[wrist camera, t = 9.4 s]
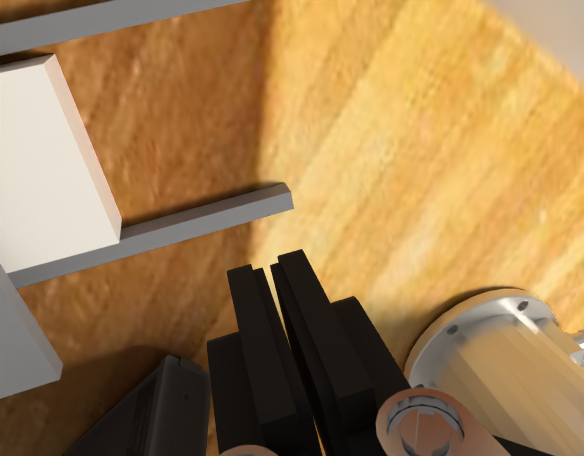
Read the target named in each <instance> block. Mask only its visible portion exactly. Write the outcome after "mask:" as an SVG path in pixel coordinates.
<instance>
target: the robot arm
mask: <svg viewBox="0 0 584 456" xmlns="http://www.w3.org/2000/svg"><path fill="white" fill-rule="evenodd" d="M278 262H279V263H276V264H272V265H270V268H271V272H272V276H273V280H274V284H275V288H276V292H277V296H278V300H279V304H280V308H281V312H282V316H283V320H284V324H285V328H286V331H287V335H288V339H289V343H290V346H289V343H288V340H287V337H286V334H285V331H284V328H283V326H282V323H281V320H280V317H279V314H278V311H277V308H276V305H275V302H274V299H273V297H272V294H271V291H270V288H269V285H268V282H267V279H266V276H265V273H264V270H263V268H259V269H255V270H253V269H252V266H251V264H249V265H245V266H242V267H238V268H235V269H231V270H228V271H227V276H228V281H229V285H230V290H231V295H232V299H233V304H234V309H235V313H236V318H237V323H238V328H239V332H235V333H232V334H229V335H226V336H223V337H219V338H216V339H213V340H210V341H207V353H208V362H209V370H210V379H211V388H212V397H213V405H214V414H215V423H216V432H217V440H218V449H219V456H322V452H321V448H320V444H319V440H318V436H317V432H316V427H317V430H318V433H319V436H320V439H321V442H322V445H323V448H324V451H325V454H326V456H584V329H582V330H579V331H578V332H576V333H573V334H570V333H567V332H564V331H562V330H561V329H560V328H559V327H558V323H557V319H556V316H555V314H554V312H553V311H552V309H551V308H550V306H548V305H547V304H546V303H545V302H544V301H543V300H541V299H540V298H539V297H538V296H536V295H534V294H532V293H530V292H528V291H524V290H520V289H499V290H493V291H488V292H485V293H482V294H479V295H476V296H473V297H471V298H469V299H467V300H465V301H463V302H461V303H459V304H457V305H456V306H454V307H453V308H451V309H450V310H448V311H447V312H445V313H444V314H442V315H441V316H440V317H439V318H438V319H437V320H435V321H434V322H433V323H432V324H431V325H430V326H429V327H428V328H427V329H426V331H425V332H424V333H423V334H422V335H421V336H420V338H419V339H418V341H417V342H416V344H415V345H414V347H413V348H412V350H411V352H410V355H409V357H408V359H407V361H406V365H405V369H404V373H402V371H401V370H400V368H399V366H398V365H397V363H396V361H395V360H394V358H393V357H392V355H391V353H390V352H389V350H388V348H387V347H386V345H385V344H384V342H383V340H382V339H381V337H380V335H379V334H378V332H377V330H376V329H375V327H374V326H373V324H372V322H371V321H370V319H369V317H368V316H367V314H366V312H365V311H364V309H363V308H362V306H361V304H360V303H359V301H358V300H357V299H356V297H354V296H352V297H349V298H346V299H343V300H339V301H336V302H333V303H330V302H329V300H328V298H327V296H326V294H325V292H324V290H323V288H322V286H321V284H320V282H319V280H318V279H317V277H316V275H315V273H314V271H313V269H312V267H311V265H310V263H309V261H308V259H307V257H306V255H305V253H304V252H303V250H302V249H300V250H297V251H293V252H290V253H286V254H283V255H279V256H278ZM290 347H291V349H290ZM291 351H292V352H291ZM314 421H315V423H314ZM315 424H316V427H315Z"/></svg>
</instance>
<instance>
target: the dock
mask: <svg viewBox="0 0 584 456" xmlns="http://www.w3.org/2000/svg"><path fill="white" fill-rule="evenodd" d="M243 1H248V0H109V1H104V2H100V3H95V4H90V5H86V6H81V7H76V8H72V9H67V10H62V11H58V12H53V13H48V14H44V15H39V16H34V17H30V18H25V19H20V20H16V21H11V22H6V23H2V24H0V56H1V55H5V54H10V53H14V52H19V51H23V50H28V49H32V48H37V47H41V46H46V45H50V44H55V43H59V42H64V41H68V40H73V39H77V38H82V37H86V36H91V35H95V34H100V33H104V32H109V31H113V30H118V29H122V28H127V27H131V26H135V25H140V24H144V23H149V22H153V21H158V20H162V19H167V18H171V17H176V16H180V15H185V14H189V13H194V12H198V11H203V10H207V9H212V8H216V7H221V6H225V5H230V4H234V3H239V2H243ZM291 209H294V206H293V201H292V196H291V191H290V190H289V188H288V187H287V185H286V184H285V183H282V184H278V185H275V186H271V187H268V188H264V189H261V190H257V191H254V192H250V193H246V194H243V195H239V196H236V197H232V198H229V199H225V200H221V201H218V202H214V203H211V204H207V205H204V206H200V207H197V208H193V209H189V210H186V211H182V212H179V213H175V214H172V215H168V216H165V217H161V218H157V219H154V220H150V221H147V222H143V223H140V224H136V225H133V226H129V227H125V228H122V229H121V231H120V239H119V243H118V244H114V245H110V246H107V247H103V248H99V249H96V250H92V251H88V252H84V253H81V254H77V255H73V256H70V257H66V258H62V259H59V260H55V261H51V262H47V263H44V264H40V265H36V266H33V267H29V268H25V269H21V270H18V271H14V272H10V273H7V274H6V272H5V270H4V269H3V267H2V266H1V264H0V399H1V398H4V397H7V396H10V395H13V394H16V393H20V392H23V391H26V390H29V389H32V388H35V387H38V386H41V385H45V384H48V383H51V382H54V381H57V380H60V377H61V372H62V368H63V363H62V361H61V360H60V358H59V357H58V355H57V353H56V352H55V350H54V349H53V347H52V345H51V344H50V342H49V341H48V339H47V337H46V336H45V334H44V333H43V331H42V329H41V328H40V326H39V325H38V323H37V321H36V320H35V318H34V317H33V315H32V314H31V312H30V310H29V309H28V307H27V306H26V304H25V302H24V301H23V299H22V298H21V296H20V294H19V293H18V291H17V290H16V289H18V288H21V287H25V286H28V285H32V284H35V283H39V282H42V281H46V280H49V279H52V278H56V277H59V276H63V275H66V274H70V273H73V272H77V271H80V270H84V269H87V268H90V267H94V266H97V265H101V264H104V263H108V262H111V261H115V260H118V259H121V258H125V257H128V256H132V255H135V254H139V253H142V252H146V251H149V250H153V249H156V248H159V247H163V246H166V245H170V244H173V243H177V242H180V241H184V240H187V239H191V238H194V237H197V236H201V235H204V234H208V233H211V232H215V231H218V230H222V229H225V228H229V227H232V226H235V225H239V224H242V223H246V222H249V221H253V220H256V219H260V218H263V217H267V216H270V215H273V214H277V213H280V212H284V211H287V210H291Z"/></svg>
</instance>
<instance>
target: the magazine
mask: <svg viewBox="0 0 584 456" xmlns="http://www.w3.org/2000/svg"><path fill="white" fill-rule="evenodd" d="M210 396H211V379H210V373H208V372H206V371H204V370H202V366H200V365H197V364H195V363H193V362H191V361H189V360H187V359H184V358H182V357H179V358H175V357H173V356H171V355H168V356H166V357H165V358H164V359H162V360H161V362H160V366H158V367H157V368H156V369H155V370H154V371H153V372H152V373H151V374H150V375H149V376H147V377H146V378H145V379H144V380H143V381H142V382H141V383H140V384H139V385H138V386H136V387H135V388H134V389H133V390H132V391H131V392H130V393H129V394H128V395H127V396H125V397H124V398H123V399H122V400H121V401H120V402H119V403H118V404H117V405H116V406H115V407H113V408H112V409H111V410H110V411H109V412H108V413H107V414H106V415H105V416H104V417H102V418H101V419H100V420H99V421H98V422H97V423H96V424H95V425H94V426H93V427H91V428H90V429H89V430H88V431H87V432H86V433H85V434H84V435H83V436H82V437H81V438H80V439H79V440H78V441H77V442H76V443H75V444H74V445H73V446H72V447H71V448H70V449H69V450H68V451H67V452H66V453H65V454H64V455H63V456H206V447H207V434H208V421H209V408H210Z"/></svg>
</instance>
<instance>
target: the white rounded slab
mask: <svg viewBox="0 0 584 456" xmlns="http://www.w3.org/2000/svg"><path fill="white" fill-rule="evenodd" d="M121 222H122V218H121V215H120V213H119V210H118V208H117V205H116V203H115V200H114V198H113V195H112V193H111V190H110V188H109V186H108V183H107V181H106V178H105V176H104V173H103V171H102V168H101V166H100V163H99V161H98V159H97V156H96V154H95V151H94V149H93V146H92V144H91V141H90V139H89V136H88V134H87V132H86V129H85V127H84V124H83V122H82V119H81V117H80V114H79V112H78V109H77V107H76V105H75V102H74V100H73V97H72V95H71V92H70V90H69V87H68V85H67V82H66V80H65V78H64V75H63V73H62V70H61V68H60V65H59V63H58V60H57V58H56V55H55V54H51V55H46V56H41V57H37V58H32V59H27V60H22V61H17V62H13V63H8V64H3V65H0V264H1V266H2V267H3V269H4V270H5V272H6V274H7V273H10V272H14V271H18V270H21V269H25V268H29V267H33V266H36V265H40V264H44V263H47V262H51V261H55V260H59V259H62V258H66V257H70V256H73V255H77V254H81V253H84V252H88V251H92V250H96V249H99V248H103V247H107V246H110V245H114V244H118V243H119V239H120V231H121Z"/></svg>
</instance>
